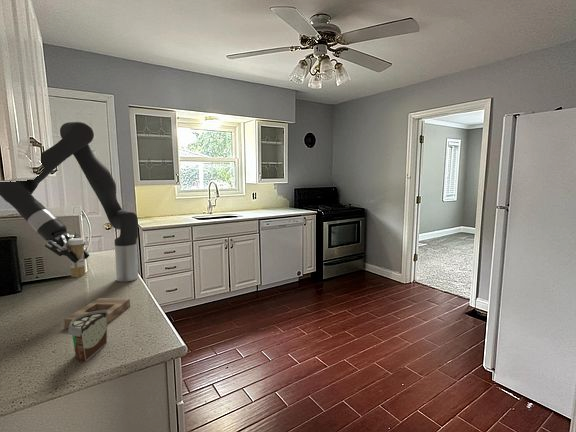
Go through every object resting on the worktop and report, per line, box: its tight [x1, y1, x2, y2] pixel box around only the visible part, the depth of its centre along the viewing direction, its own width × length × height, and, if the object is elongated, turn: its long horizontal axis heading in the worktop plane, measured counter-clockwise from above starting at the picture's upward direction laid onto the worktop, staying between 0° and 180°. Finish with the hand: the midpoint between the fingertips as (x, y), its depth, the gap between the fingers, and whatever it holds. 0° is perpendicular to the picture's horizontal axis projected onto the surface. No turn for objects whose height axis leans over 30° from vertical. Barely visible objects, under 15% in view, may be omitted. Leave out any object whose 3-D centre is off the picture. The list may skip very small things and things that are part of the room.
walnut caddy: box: [63, 297, 131, 329], centre depth 110 cm, size 18×12×3 cm, turn 179°
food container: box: [67, 310, 109, 363], centre depth 87 cm, size 12×6×10 cm, turn 178°
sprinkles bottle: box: [68, 237, 87, 278], centre depth 111 cm, size 5×5×13 cm
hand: (82, 259), depth 111 cm, fingers closed on sprinkles bottle, 4 cm apart
